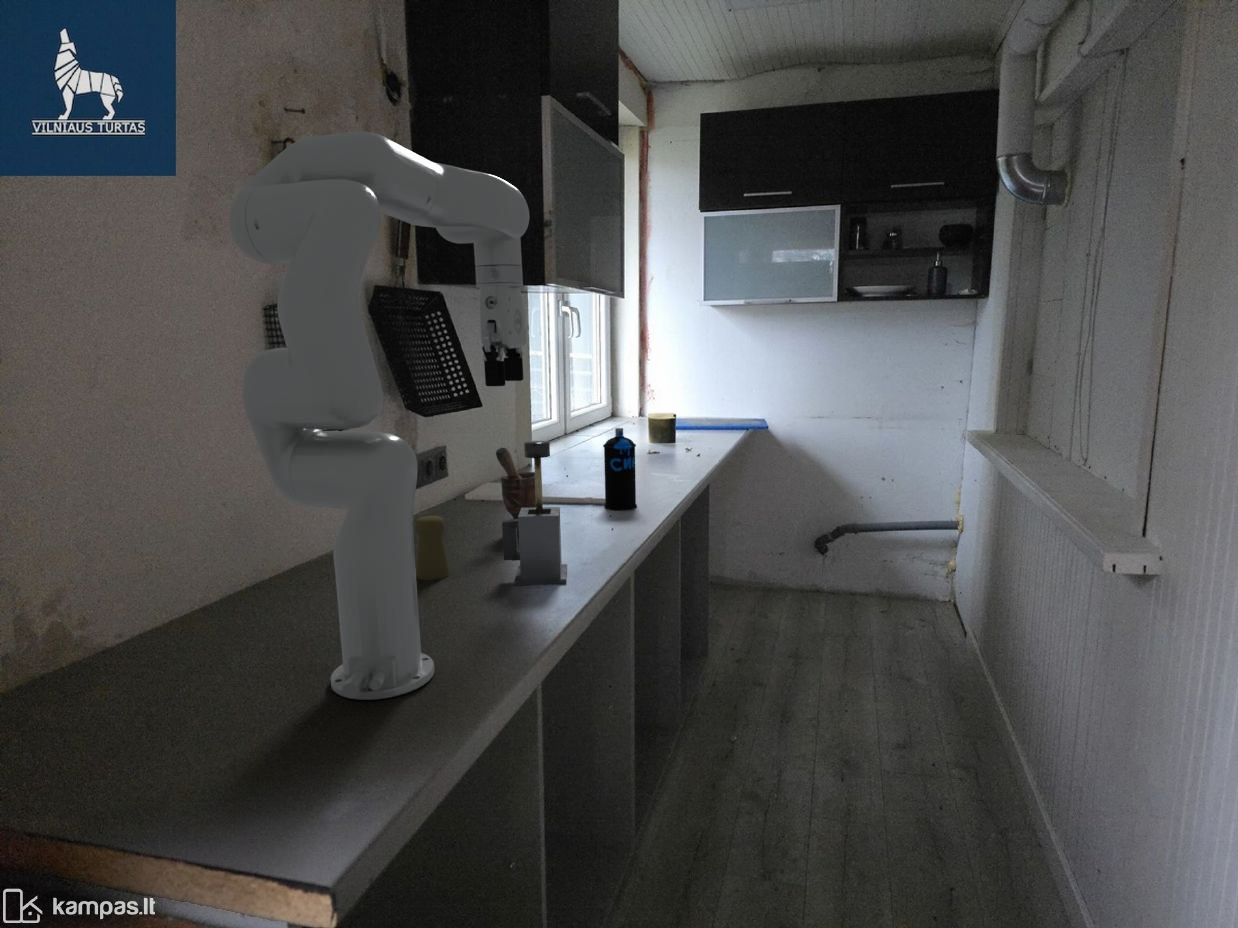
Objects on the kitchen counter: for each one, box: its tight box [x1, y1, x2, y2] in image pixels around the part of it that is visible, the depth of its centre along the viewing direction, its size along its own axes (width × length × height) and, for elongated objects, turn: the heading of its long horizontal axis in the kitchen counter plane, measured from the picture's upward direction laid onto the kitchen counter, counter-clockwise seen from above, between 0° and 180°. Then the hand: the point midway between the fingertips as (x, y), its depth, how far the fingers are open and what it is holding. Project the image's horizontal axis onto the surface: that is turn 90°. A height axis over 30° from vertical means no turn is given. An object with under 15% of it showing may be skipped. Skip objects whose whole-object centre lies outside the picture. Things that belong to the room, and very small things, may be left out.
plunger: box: [523, 440, 551, 514], centre depth 134 cm, size 4×4×15 cm
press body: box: [501, 506, 568, 586], centre depth 136 cm, size 9×11×12 cm
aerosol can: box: [602, 427, 638, 511], centre depth 190 cm, size 8×8×20 cm
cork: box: [415, 515, 451, 581], centre depth 138 cm, size 6×6×11 cm
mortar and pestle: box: [495, 447, 536, 538], centre depth 165 cm, size 12×9×20 cm
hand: (505, 383), depth 127 cm, fingers open, 9 cm apart
